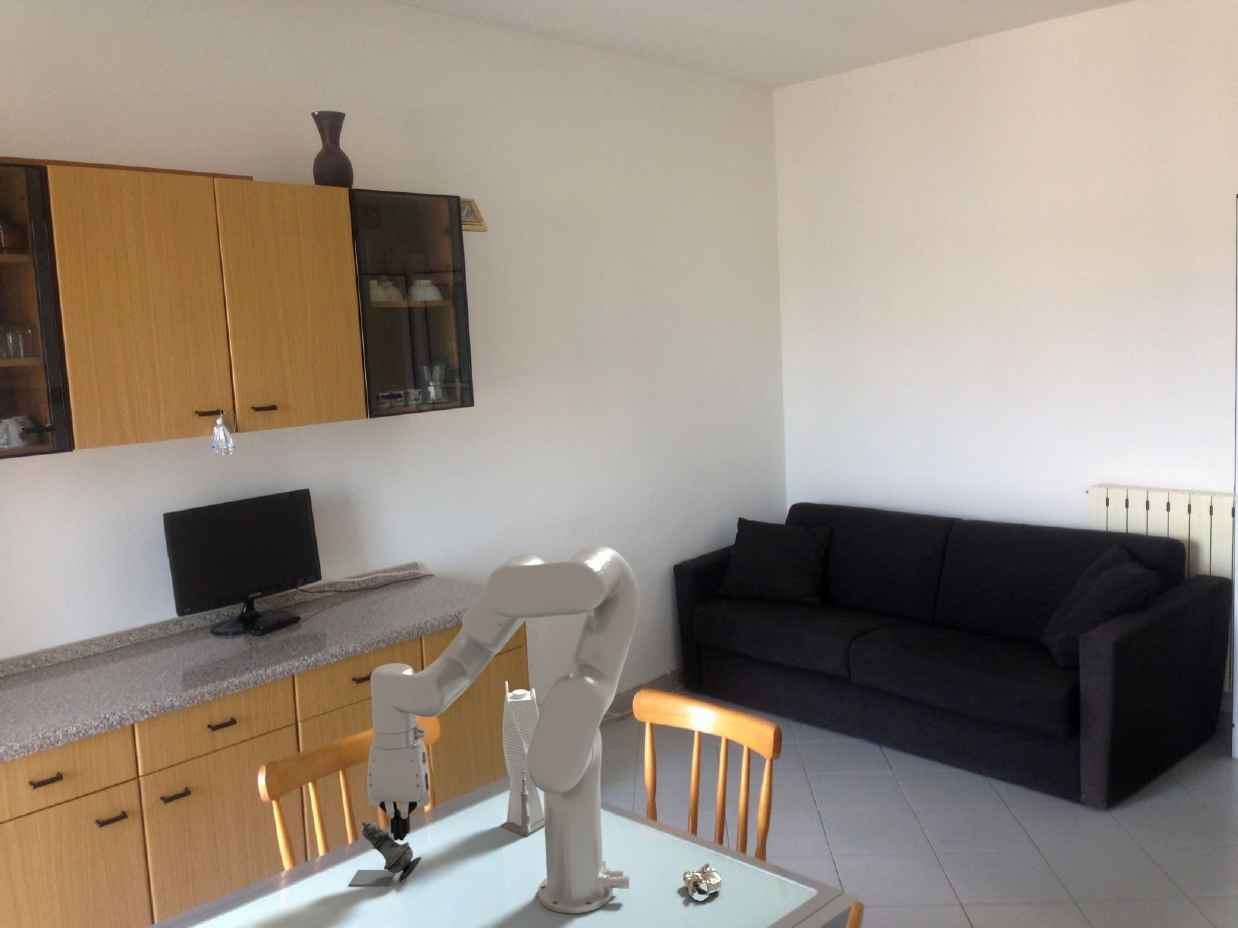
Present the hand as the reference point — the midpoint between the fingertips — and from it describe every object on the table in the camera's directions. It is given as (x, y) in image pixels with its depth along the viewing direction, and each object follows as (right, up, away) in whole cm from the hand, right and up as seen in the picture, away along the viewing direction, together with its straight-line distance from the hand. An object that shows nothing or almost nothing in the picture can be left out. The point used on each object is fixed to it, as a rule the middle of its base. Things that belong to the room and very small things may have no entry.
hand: (400, 836), depth 181 cm
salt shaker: (+2, -6, +1) cm, 6 cm away
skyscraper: (+20, -5, +21) cm, 29 cm away
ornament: (+52, -7, -6) cm, 53 cm away
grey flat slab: (-5, -8, +1) cm, 10 cm away
